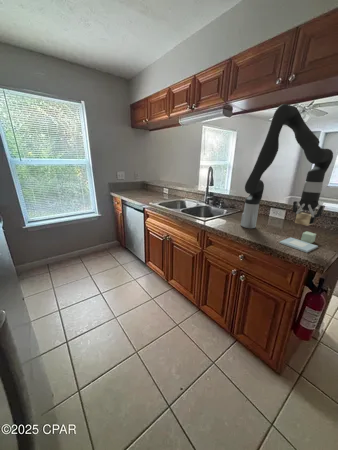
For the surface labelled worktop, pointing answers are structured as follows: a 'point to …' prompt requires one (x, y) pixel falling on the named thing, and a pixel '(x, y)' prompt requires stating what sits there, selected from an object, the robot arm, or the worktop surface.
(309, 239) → the sage block
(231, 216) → the worktop surface
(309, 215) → the maple block
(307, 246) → the board
